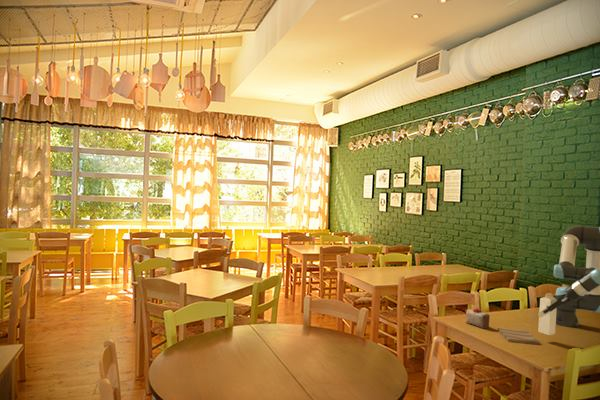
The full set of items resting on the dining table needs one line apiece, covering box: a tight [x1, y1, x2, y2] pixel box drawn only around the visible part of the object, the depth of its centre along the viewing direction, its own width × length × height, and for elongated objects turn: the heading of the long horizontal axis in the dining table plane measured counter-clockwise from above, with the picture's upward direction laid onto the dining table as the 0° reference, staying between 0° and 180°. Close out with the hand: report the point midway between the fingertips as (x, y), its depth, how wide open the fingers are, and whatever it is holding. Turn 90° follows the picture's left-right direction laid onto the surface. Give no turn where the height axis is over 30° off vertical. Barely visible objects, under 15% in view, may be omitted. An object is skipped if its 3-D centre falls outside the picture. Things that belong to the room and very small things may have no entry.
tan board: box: [497, 327, 541, 346], centre depth 243 cm, size 20×16×2 cm
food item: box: [465, 308, 490, 329], centre depth 263 cm, size 14×8×10 cm, turn 31°
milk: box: [537, 292, 557, 336], centre depth 238 cm, size 6×6×22 cm
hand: (540, 314), depth 240 cm, fingers closed on milk, 8 cm apart
